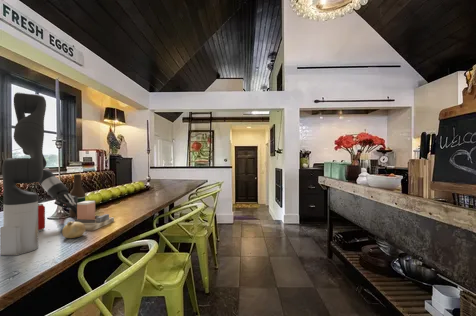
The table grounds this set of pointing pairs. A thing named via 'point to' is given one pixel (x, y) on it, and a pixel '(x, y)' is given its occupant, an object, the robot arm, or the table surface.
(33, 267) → the table surface
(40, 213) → the beverage can
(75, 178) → the beer bottle
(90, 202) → the pink box
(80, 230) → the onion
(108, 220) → the console
